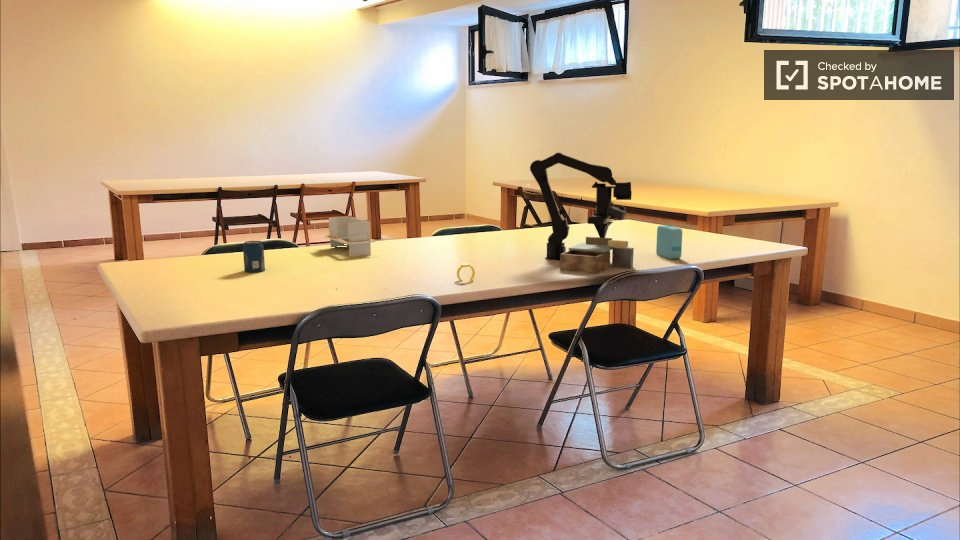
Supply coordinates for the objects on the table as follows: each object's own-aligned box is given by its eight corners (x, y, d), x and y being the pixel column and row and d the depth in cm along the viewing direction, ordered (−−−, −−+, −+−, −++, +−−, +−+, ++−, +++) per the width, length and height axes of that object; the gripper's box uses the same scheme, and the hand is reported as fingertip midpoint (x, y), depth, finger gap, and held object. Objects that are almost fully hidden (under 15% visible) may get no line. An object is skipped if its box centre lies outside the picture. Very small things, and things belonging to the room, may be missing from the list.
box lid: (568, 250, 267) (568, 241, 267) (581, 244, 280) (582, 236, 279) (605, 252, 261) (605, 243, 260) (617, 247, 273) (617, 238, 272)
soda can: (243, 274, 258) (241, 241, 256) (264, 272, 261) (261, 239, 259) (245, 277, 252) (243, 243, 250) (266, 276, 255) (264, 242, 253)
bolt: (607, 246, 268) (607, 240, 268) (609, 245, 270) (609, 239, 269) (626, 247, 265) (626, 241, 264) (627, 246, 266) (628, 241, 266)
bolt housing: (612, 266, 268) (612, 247, 267) (614, 265, 271) (615, 246, 269) (630, 268, 265) (631, 249, 263) (632, 267, 267) (633, 247, 266)
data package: (681, 259, 283) (682, 228, 281) (670, 259, 282) (672, 229, 280) (665, 254, 295) (667, 225, 292) (655, 254, 294) (657, 225, 291)
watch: (472, 279, 246) (472, 262, 245) (475, 281, 244) (475, 264, 243) (456, 281, 244) (455, 264, 243) (459, 283, 241) (458, 265, 240)
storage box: (560, 270, 262) (560, 254, 261) (574, 264, 274) (574, 248, 273) (597, 273, 255) (597, 257, 254) (609, 267, 267) (610, 251, 266)
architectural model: (324, 252, 306) (323, 217, 303) (353, 250, 313) (352, 215, 310) (346, 261, 285) (344, 224, 282) (376, 258, 291) (375, 221, 288)
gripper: (616, 202, 265) (615, 245, 268) (631, 198, 281) (630, 238, 284) (587, 201, 270) (586, 243, 273) (603, 197, 286) (602, 236, 289)
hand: (602, 240), depth 279 cm, fingers closed
